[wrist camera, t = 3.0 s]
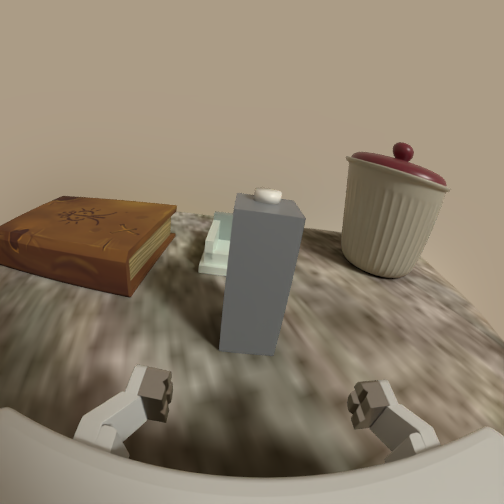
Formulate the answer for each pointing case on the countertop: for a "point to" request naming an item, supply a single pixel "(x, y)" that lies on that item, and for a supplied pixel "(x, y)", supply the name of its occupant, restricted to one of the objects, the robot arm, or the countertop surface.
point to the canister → (389, 211)
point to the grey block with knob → (259, 271)
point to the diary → (89, 242)
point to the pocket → (217, 245)
